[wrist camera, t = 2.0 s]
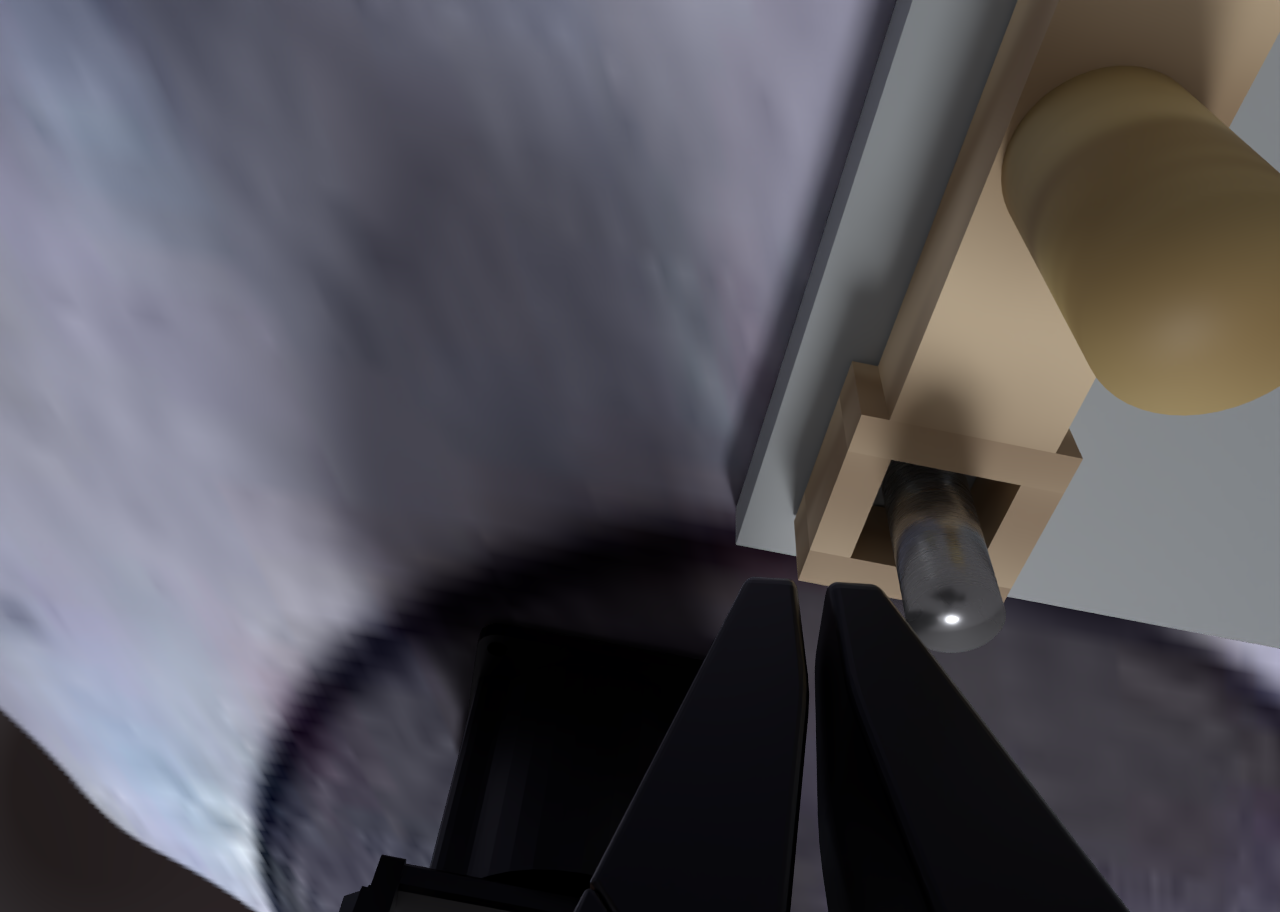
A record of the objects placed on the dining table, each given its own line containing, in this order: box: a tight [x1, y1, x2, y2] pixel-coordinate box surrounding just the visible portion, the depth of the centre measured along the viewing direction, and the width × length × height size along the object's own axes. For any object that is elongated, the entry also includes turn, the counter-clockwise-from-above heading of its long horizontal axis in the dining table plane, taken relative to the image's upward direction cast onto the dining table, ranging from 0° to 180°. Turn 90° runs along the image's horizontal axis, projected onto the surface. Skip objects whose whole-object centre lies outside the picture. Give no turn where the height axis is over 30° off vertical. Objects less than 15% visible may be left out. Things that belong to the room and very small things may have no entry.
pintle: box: [881, 460, 1006, 653], centre depth 19 cm, size 2×2×4 cm
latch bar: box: [794, 0, 1280, 603], centre depth 15 cm, size 14×4×6 cm, turn 169°
